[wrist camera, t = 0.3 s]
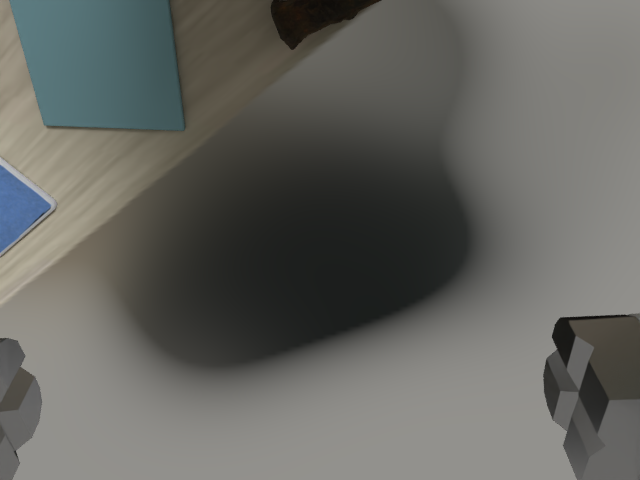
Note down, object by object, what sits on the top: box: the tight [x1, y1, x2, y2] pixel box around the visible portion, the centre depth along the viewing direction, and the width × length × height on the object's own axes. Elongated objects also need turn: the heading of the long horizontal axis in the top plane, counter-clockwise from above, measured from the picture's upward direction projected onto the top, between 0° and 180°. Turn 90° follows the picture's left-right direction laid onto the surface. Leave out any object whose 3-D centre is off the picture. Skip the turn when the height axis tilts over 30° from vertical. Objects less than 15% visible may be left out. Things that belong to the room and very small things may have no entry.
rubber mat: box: [9, 0, 185, 131], centre depth 55 cm, size 14×14×1 cm
